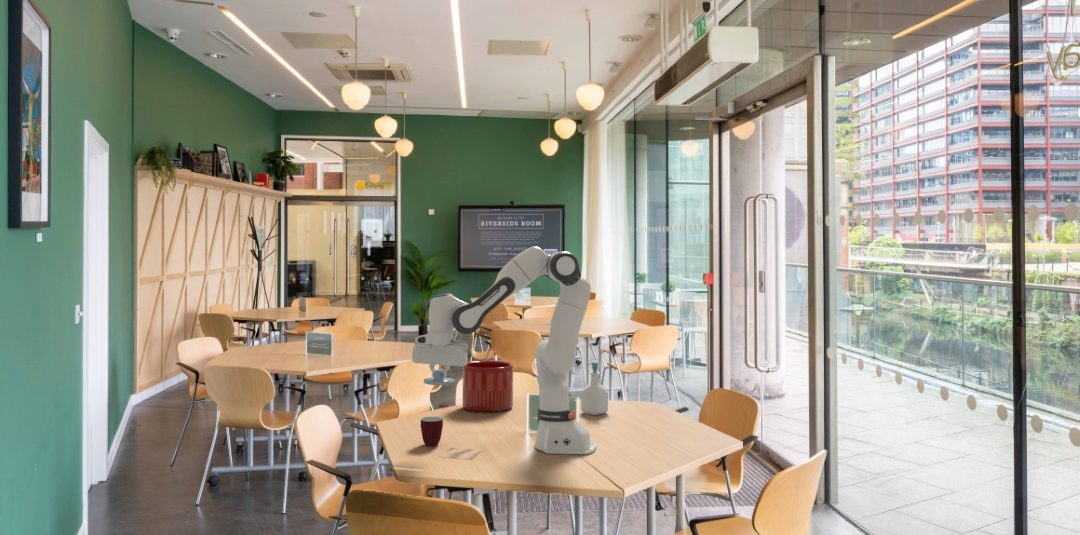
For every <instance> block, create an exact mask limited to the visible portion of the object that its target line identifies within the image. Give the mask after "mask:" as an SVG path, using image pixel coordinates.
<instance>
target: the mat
mask: <svg viewBox="0 0 1080 535" xmlns="http://www.w3.org/2000/svg"><path fill="white" fill-rule="evenodd" d="M483 450H484V449H473V448H472V449H470V448H461V447H460V448H459V447H458V448H457V447H450V448H449V449H447V450H446V451H445V452H443V453H442V454H440V455H439V456H438V457H439V458H448V459H457V460H458V459H461V460H470V461H471V460H473V459H475V458H476V457H477V456H478V455H479V454H480V453H482V452H483Z"/></svg>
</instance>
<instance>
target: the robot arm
mask: <svg viewBox="0 0 1080 535" xmlns="http://www.w3.org/2000/svg"><path fill="white" fill-rule="evenodd" d="M542 275H544V276H545V277H547V278H548V279H549V280H552V281H553V282H558V283H559V284H560V293H559V296H558V298H557V302H556V305H555V307H554V309H553V310H554V311H553V314H552V317H551V319H550V329H549V330H550V331H549V336H548V339H544V340H542V341H540V342H539V343H538V344H537V345H536V348H535V354H534V356H535V360H536V370H537V378H538V379H537V380H538V385H539V386H538V389H539V391H538V393H539V394H538V395H539V396H538V399H539V400H538V402H539V403H538V404H539V406H538V408H537V425H538V426H537V434H536V439H535V443H534V446H533V447H534V448H535V449H537V450H539V451H542V452H543V453H545V454H548V455H549V454H550V455H551V454H552V455H554V454H555V455H590V454H593V453H594V452H595V451H596V449H597V445H596V443H594V442H592V441H591V437H590V433H589V431H588V429H587V428H586V427H585V426H583V425H582V424H581V423H579V422H578V421H577V420H576V419H575V414H576V411H575V410H572V409H571V408H570V386H569V380H568V375H567V373H568V372H570V371H572V369H573V368H574V366H575V364H576V359H577V358H576V352H577V347H578V341H579V339H578V338H579V334H580V330H581V327H582V323H583V320H584V317H585V315H586V312H587V308H588V305H589V301H590V297H591V289H592V287H591V286H592V285H591V284H590V282H589V281H588V280H587V279H586V278H584V277H582V274H581V269H580V263H579V261H578V259H577V257H576V255H575V254H573V253H571V252H570V251H565V250H564V251H556V252H555V253H552V254H547V253H546V252H545V250H543V248H541V247H540V246H537V245H536V246H535V245H533V246H531V247H528V248H527V249H525V250H522V251H521V252H520V253H518V254H517V255H515V256H514V257H513V258H511V259H510V260H509V261H508V262H507V263H506V264H505V265H504V266H503V267H502V268H501V269H500V270H499V272H498V274H497V276H496V279H495V281H494V282H493V284H492V285H491V286H490V287H489V288H488V289H487V290H486V291H485V292H484V293H482V295H480V296H479V297H477V299H476V300H474V301H473V302H471V303H468V302H465V301H463V300H460V299H459V298H457V297H456V296H454V295H453V294H452V293H442V294H441V293H440V294H436V295H434V296H433V297H432V298H431V299H430V302H429V308H428V309H429V310H428V321H429V327H428V329H427V330H428V332H427V333H425V334H423V335H419V336H416V337H415V339H414V343H415V344H414V346H413V347H412V352H411V354H412V355H411V361H412V362H413V364H424V365H428V366H429V369H430V371H431V377H434V371H435V370H436V369H435V367H436V365H438V366H444V367H443V369H445V371H444V372H442V373H441V377H442V378H448V377H447V374H448V371H449V370H450V368H451V366H453V367H463V366H465V365H466V364H467V363H468V362H469V360H468V359H469V358H468V350H469V349H468V348H469V344H468V342H466V341H465V340H463V339H460V340H459V339H454V330H456V332H458V333H460V334H463V335H471V334H474V333H475V332H477V331H478V330H479V328H480V327H481V325H482V322H483V321H484V319H485V317H486V316H487V315H488V314H489V313H491V311H493V310H494V309H495V308H496V307H497V306H499V304H501V303H502V302H503V301H505V300H506V299H508V298H509V297H511V296H512V295H514V294H516V293H518V292H520V291H521V290H523V289H525V288H526V287H527V286H529V285H530V284H531V283H532V282H534V281H535V280H536V279H538V278H539V277H540V276H542Z"/></svg>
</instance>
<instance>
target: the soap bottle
mask: <svg viewBox="0 0 1080 535" xmlns="http://www.w3.org/2000/svg"><path fill="white" fill-rule="evenodd" d="M590 365H591V368H592V371H590V372H589V375H590V382H589V384H587V385H586V386H585V387H584V388H583V390H582V391H581V393H580V396H581V397H580V398H581V399H580V400H581V401H580V409H581V412H582V413H583V414H587V415H592V416H598V415H603V414H606V413H608V411H609V393H608V390H607V389H606V388H605V387H604V386H603V385H602V384H601V383H600V381H599V380H600V379H599V376H600V374H601V372H600V371H598V367H599V362H597V361H595V362H591V363H588V366H590Z"/></svg>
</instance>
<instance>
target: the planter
mask: <svg viewBox="0 0 1080 535" xmlns="http://www.w3.org/2000/svg"><path fill="white" fill-rule="evenodd" d="M513 406H514V364H513V363H512V362H508V361H503V360H502V361H501V360H474V361H468V363H467V364H466V365H465V366H462V407H463V409H465V410H467V411H469V412H472V411H474V412H475V413H479V412H495V413H500V412H499V411H502V412H506V411H508V410H510V409H511V408H512V407H513ZM505 410H506V411H505ZM474 412H473V413H474Z"/></svg>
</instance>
